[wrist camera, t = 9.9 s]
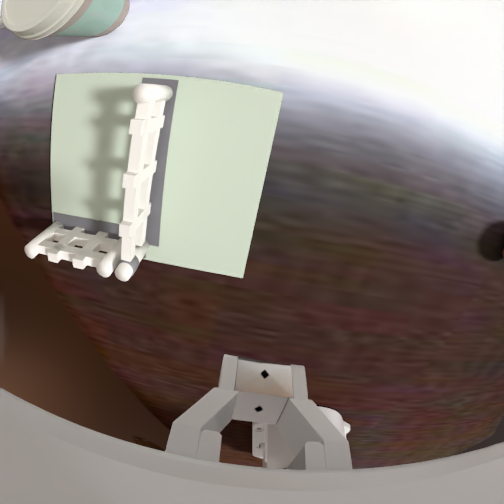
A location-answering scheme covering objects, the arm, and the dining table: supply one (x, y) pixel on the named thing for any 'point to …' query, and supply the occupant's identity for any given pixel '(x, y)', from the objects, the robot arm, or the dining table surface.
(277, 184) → the dining table surface
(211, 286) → the dining table surface
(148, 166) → the white toy fence
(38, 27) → the coffee cup
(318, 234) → the dining table surface
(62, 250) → the fence fixed
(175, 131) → the card
